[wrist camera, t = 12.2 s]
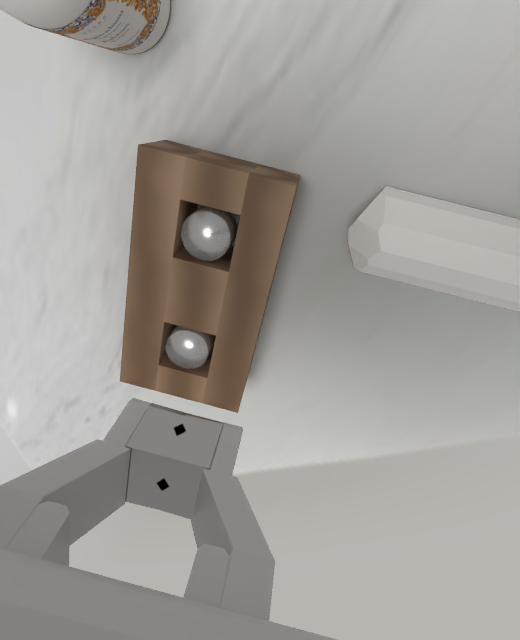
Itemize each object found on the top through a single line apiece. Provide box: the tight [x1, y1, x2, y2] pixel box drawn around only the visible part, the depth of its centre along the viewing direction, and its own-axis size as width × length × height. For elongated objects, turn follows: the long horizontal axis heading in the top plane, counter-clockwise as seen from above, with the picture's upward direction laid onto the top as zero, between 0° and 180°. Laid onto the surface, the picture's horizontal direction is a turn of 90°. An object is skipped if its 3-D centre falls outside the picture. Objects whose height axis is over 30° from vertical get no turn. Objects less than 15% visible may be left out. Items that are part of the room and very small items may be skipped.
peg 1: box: [181, 205, 240, 261], centre depth 35 cm, size 4×4×6 cm
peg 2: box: [166, 325, 216, 369], centre depth 40 cm, size 4×4×6 cm
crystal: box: [348, 186, 520, 312], centre depth 34 cm, size 7×7×24 cm
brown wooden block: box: [120, 140, 300, 413], centre depth 38 cm, size 12×22×6 cm, turn 167°
